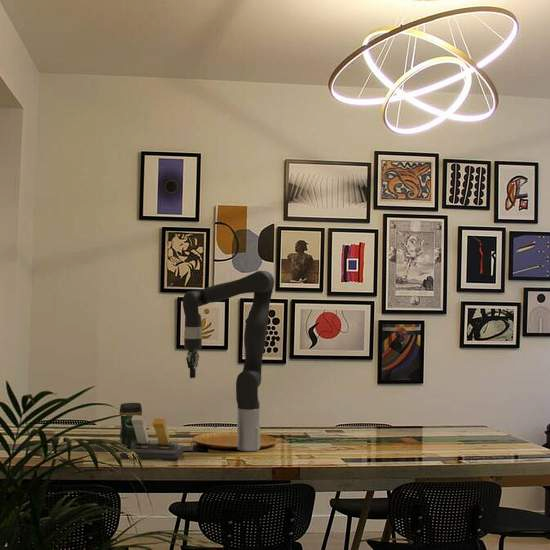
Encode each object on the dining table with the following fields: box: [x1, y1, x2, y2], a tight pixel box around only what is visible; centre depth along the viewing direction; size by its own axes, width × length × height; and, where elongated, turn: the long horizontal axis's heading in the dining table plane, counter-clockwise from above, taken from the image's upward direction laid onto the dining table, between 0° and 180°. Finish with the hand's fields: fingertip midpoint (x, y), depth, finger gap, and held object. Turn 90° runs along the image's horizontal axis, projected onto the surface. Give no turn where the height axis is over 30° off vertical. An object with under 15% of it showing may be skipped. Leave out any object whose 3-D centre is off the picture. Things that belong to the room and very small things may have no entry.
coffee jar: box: [118, 402, 143, 447], centre depth 329 cm, size 10×8×19 cm
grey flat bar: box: [119, 449, 180, 461], centre depth 306 cm, size 24×2×4 cm, turn 81°
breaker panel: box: [129, 440, 185, 457], centre depth 314 cm, size 20×12×5 cm, turn 81°
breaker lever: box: [152, 418, 172, 447], centre depth 309 cm, size 4×3×15 cm
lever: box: [131, 415, 151, 446], centre depth 311 cm, size 4×3×15 cm
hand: (192, 377), depth 333 cm, fingers closed
